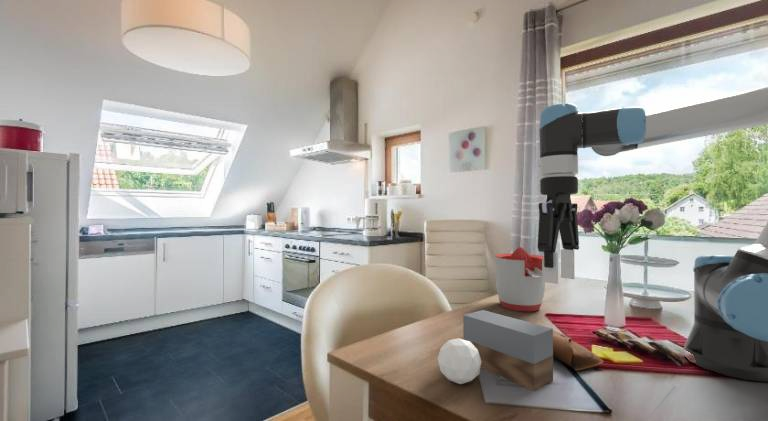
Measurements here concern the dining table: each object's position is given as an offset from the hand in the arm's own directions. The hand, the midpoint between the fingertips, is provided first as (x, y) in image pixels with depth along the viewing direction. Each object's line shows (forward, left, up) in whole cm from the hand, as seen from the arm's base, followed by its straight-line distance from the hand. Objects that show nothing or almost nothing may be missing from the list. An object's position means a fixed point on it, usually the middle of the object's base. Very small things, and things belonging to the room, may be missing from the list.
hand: (559, 280), depth 80 cm
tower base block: (+3, +16, -17) cm, 23 cm away
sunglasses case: (0, -2, -17) cm, 17 cm away
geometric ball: (+6, +27, -17) cm, 32 cm away
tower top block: (+3, +16, -12) cm, 20 cm away
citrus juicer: (+25, -29, -17) cm, 42 cm away
